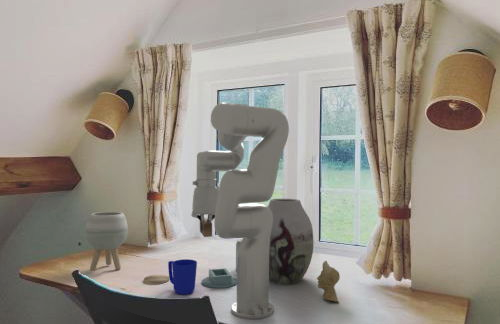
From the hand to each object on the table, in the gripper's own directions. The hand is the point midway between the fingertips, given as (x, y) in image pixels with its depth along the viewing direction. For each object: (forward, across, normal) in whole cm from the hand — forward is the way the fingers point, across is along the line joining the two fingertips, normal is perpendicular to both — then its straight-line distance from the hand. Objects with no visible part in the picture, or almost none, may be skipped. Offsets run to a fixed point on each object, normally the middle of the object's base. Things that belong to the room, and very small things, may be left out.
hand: (205, 232), depth 144 cm
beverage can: (+17, +17, +6) cm, 25 cm away
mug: (+17, -11, -14) cm, 24 cm away
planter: (+17, -37, +21) cm, 46 cm away
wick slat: (-2, 0, +5) cm, 6 cm away
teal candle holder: (+17, +4, -8) cm, 19 cm away
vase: (+17, +28, -11) cm, 35 cm away
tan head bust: (+17, +34, -34) cm, 51 cm away
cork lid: (+17, -18, 0) cm, 25 cm away
